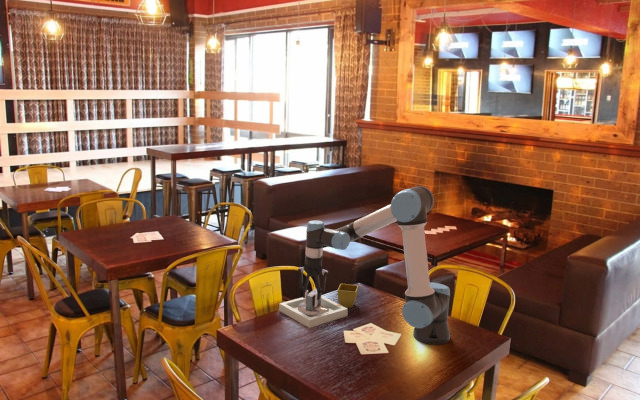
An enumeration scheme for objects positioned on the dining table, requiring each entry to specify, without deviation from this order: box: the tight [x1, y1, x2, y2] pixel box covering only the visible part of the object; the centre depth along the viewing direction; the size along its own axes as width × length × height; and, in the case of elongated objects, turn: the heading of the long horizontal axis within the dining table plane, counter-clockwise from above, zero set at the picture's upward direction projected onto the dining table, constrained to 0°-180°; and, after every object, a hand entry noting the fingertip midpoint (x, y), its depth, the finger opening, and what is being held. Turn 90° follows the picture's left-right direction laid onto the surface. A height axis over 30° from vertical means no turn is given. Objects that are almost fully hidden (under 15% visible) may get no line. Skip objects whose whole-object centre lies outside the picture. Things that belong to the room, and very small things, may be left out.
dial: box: [298, 288, 329, 317], centre depth 256 cm, size 14×14×8 cm
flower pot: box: [337, 283, 359, 309], centre depth 267 cm, size 9×9×9 cm
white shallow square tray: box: [278, 295, 349, 329], centre depth 257 cm, size 22×22×4 cm
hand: (311, 305), depth 254 cm, fingers closed on dial, 4 cm apart
